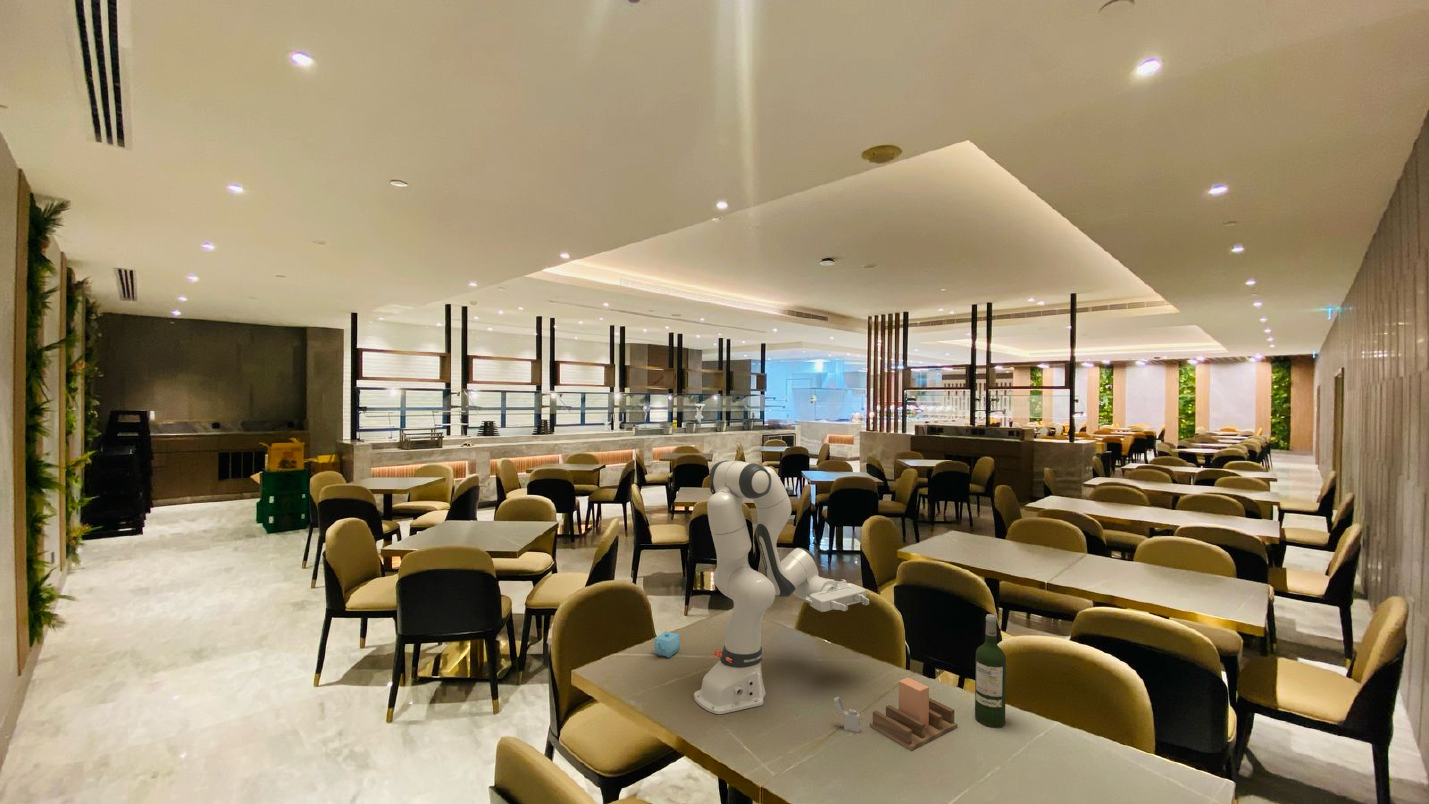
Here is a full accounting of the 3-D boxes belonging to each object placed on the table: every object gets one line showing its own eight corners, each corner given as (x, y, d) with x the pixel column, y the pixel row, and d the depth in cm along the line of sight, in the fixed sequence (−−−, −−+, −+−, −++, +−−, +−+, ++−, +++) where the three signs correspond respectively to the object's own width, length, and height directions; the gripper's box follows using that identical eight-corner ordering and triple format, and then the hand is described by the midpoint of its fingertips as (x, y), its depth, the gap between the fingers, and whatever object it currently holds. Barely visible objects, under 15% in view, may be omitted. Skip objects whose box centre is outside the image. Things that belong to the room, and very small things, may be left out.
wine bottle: (975, 724, 171) (977, 618, 171) (974, 711, 179) (975, 609, 178) (1006, 730, 168) (1008, 622, 168) (1003, 716, 176) (1005, 612, 176)
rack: (911, 750, 158) (911, 733, 158) (869, 726, 170) (869, 710, 170) (957, 727, 170) (957, 711, 170) (915, 706, 181) (915, 691, 181)
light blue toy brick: (664, 663, 209) (664, 641, 209) (649, 660, 212) (649, 638, 212) (681, 650, 220) (681, 629, 219) (667, 647, 222) (667, 626, 222)
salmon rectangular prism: (919, 731, 166) (919, 691, 166) (898, 719, 172) (898, 681, 171) (928, 726, 168) (929, 687, 168) (907, 715, 174) (908, 677, 174)
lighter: (860, 729, 168) (860, 700, 168) (858, 732, 167) (859, 703, 167) (834, 723, 171) (834, 695, 171) (833, 726, 170) (833, 698, 170)
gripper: (801, 588, 192) (833, 601, 181) (846, 578, 204) (879, 589, 193) (801, 608, 192) (832, 622, 181) (846, 597, 204) (878, 609, 193)
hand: (857, 605), depth 187 cm, fingers open, 8 cm apart
